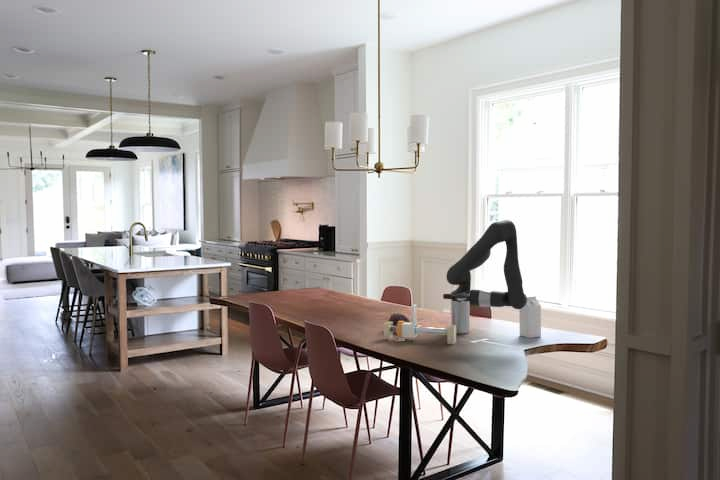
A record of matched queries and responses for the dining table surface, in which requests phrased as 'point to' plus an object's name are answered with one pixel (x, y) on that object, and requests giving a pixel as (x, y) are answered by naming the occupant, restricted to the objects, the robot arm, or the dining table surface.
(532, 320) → the milk carton
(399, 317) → the pine cone
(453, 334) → the pipe rail
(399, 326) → the ring
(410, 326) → the sleeve
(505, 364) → the dining table surface
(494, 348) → the dining table surface
